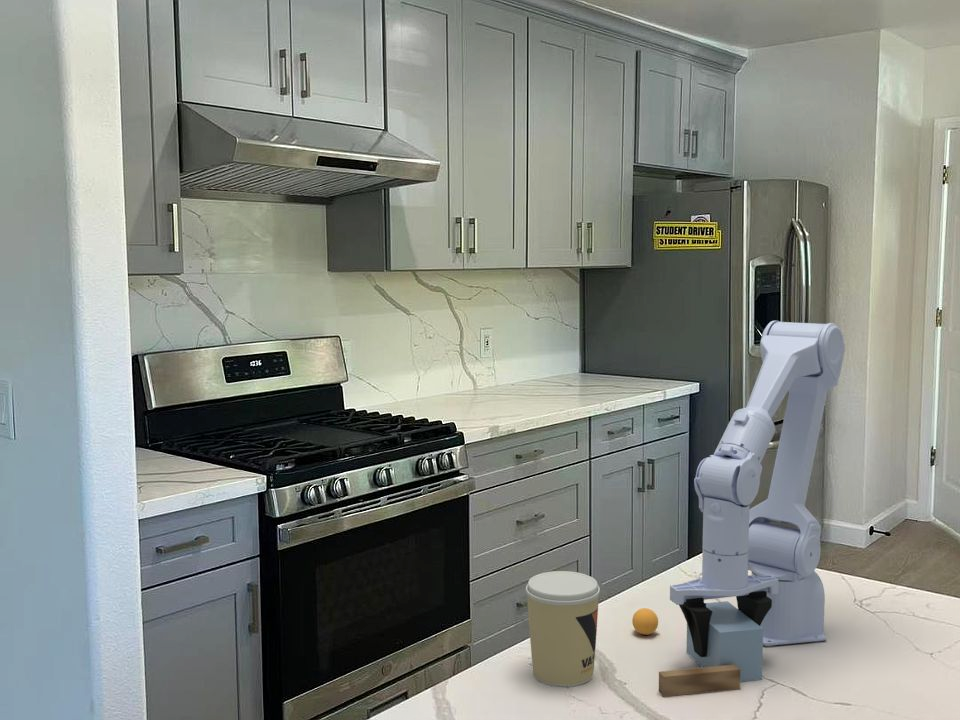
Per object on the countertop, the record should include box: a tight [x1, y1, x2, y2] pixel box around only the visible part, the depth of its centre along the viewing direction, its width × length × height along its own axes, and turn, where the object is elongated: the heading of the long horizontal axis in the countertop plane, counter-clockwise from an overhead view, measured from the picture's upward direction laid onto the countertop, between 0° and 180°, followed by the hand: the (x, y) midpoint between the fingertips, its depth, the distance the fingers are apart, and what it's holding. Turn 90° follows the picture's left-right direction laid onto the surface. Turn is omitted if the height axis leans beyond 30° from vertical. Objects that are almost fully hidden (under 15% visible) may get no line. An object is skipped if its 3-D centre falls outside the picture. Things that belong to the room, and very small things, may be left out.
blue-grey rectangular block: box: [685, 601, 764, 683], centre depth 123 cm, size 6×10×7 cm, turn 12°
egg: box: [631, 607, 659, 636], centre depth 134 cm, size 4×4×4 cm
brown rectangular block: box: [658, 664, 741, 698], centre depth 116 cm, size 10×2×2 cm, turn 102°
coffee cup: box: [525, 570, 601, 688], centre depth 120 cm, size 9×9×12 cm
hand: (723, 651), depth 123 cm, fingers closed on blue-grey rectangular block, 6 cm apart
